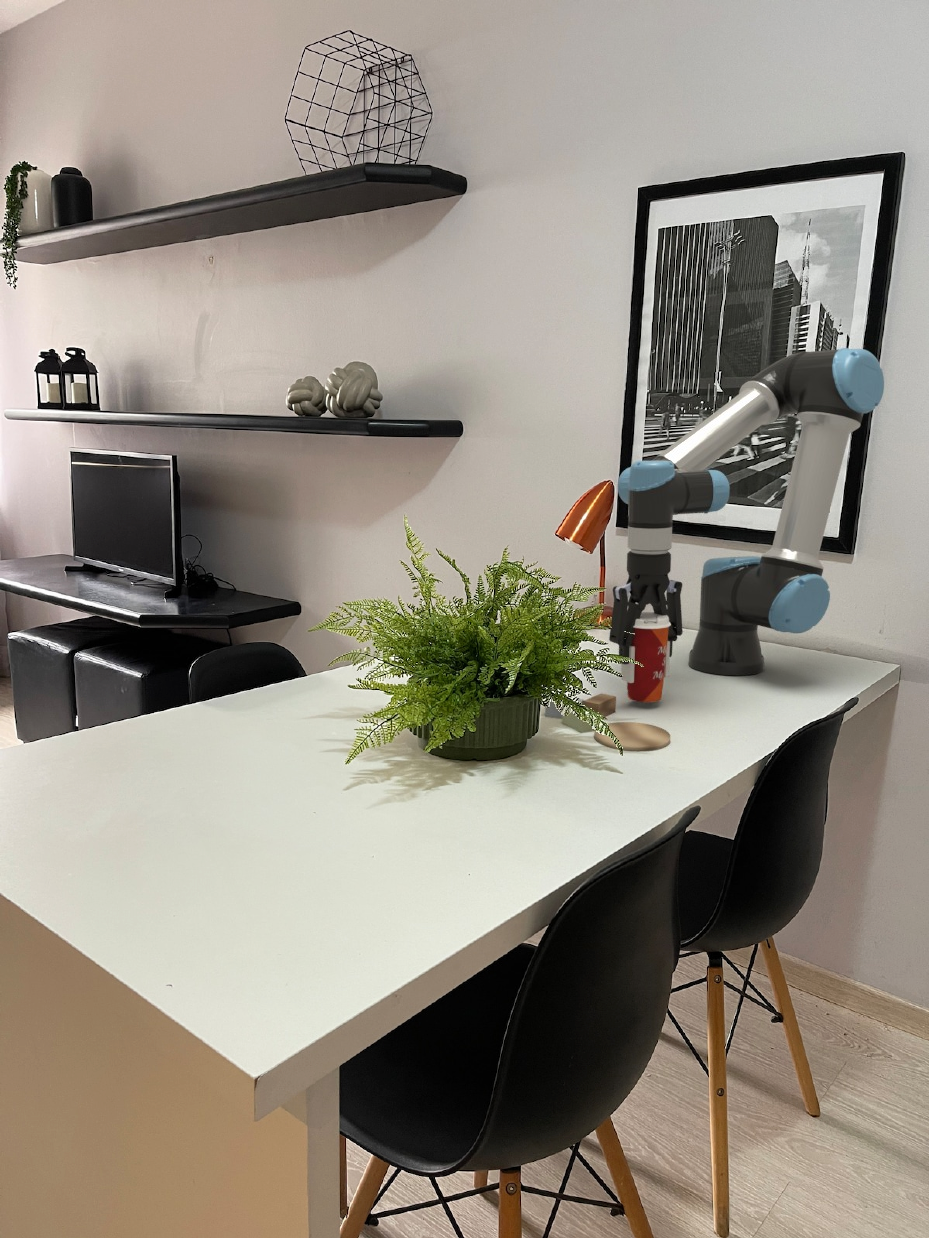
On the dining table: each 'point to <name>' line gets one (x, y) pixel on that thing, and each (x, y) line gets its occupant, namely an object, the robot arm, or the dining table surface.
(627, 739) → the disc
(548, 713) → the slate block
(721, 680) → the dining table surface
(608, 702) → the walnut block
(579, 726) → the olive block
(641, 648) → the coffee cup
